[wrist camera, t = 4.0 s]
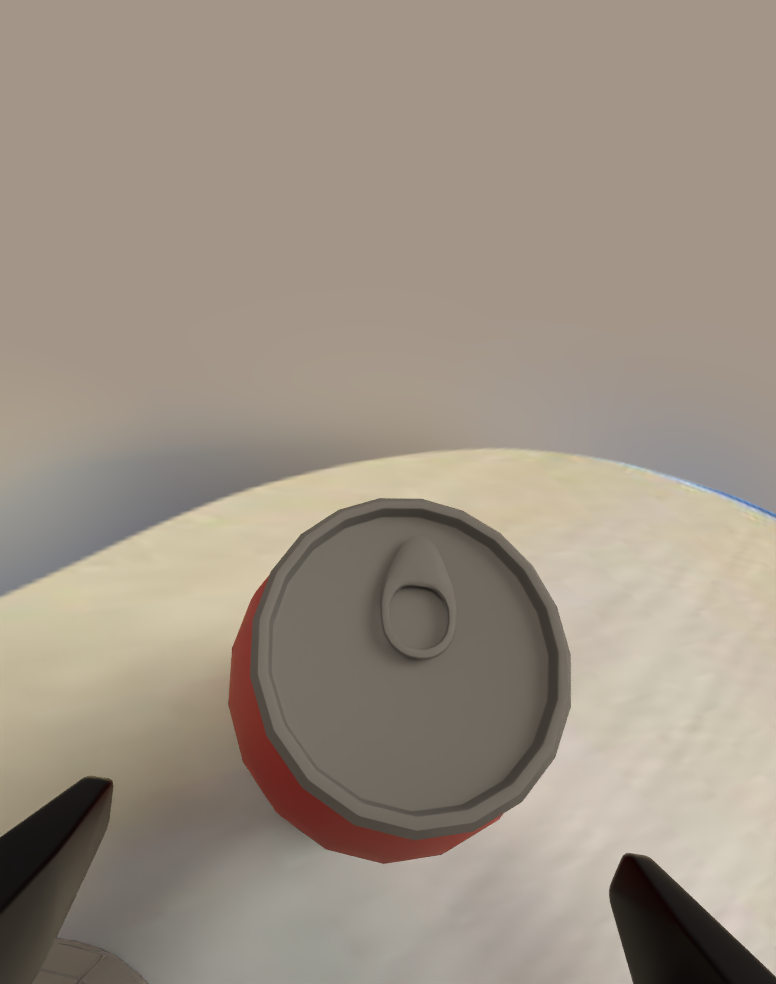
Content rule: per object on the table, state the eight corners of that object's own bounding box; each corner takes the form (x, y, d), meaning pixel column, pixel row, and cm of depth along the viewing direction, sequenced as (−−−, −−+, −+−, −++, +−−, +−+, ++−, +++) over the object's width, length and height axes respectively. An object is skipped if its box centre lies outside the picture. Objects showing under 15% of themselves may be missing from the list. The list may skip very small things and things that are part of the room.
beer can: (427, 639, 20) (572, 498, 10) (424, 827, 17) (643, 898, 7) (271, 622, 19) (260, 449, 9) (234, 816, 16) (153, 879, 6)
